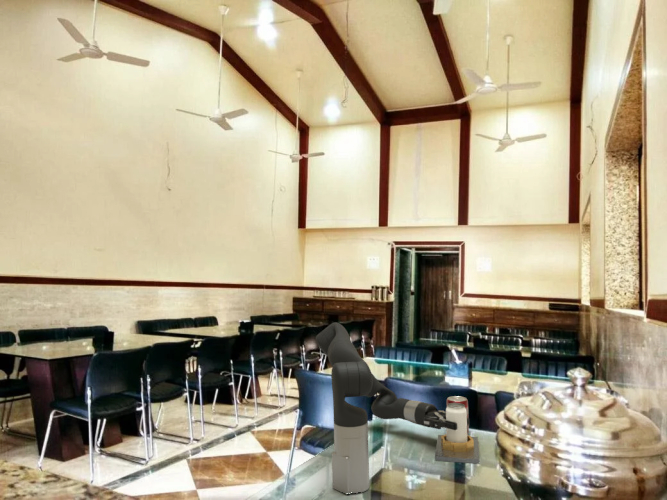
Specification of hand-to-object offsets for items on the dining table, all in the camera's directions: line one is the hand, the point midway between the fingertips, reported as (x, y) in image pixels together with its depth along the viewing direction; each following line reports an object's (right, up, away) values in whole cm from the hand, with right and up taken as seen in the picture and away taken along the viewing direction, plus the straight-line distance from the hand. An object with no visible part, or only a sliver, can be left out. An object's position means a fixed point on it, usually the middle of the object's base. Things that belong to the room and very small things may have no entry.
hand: (462, 424), depth 156 cm
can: (-1, -7, +2) cm, 7 cm away
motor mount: (-1, -9, +1) cm, 9 cm away
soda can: (+3, -9, +17) cm, 20 cm away
